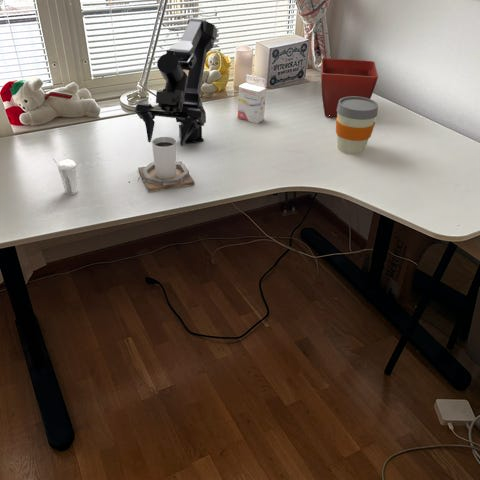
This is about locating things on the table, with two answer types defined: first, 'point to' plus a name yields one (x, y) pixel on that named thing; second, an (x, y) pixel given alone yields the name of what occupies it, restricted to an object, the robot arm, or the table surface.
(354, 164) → the table surface
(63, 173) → the milkshake
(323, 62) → the plant pot
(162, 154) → the white cup
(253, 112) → the ink cartridge box
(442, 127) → the table surface
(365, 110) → the reusable coffee cup
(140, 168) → the ring board
